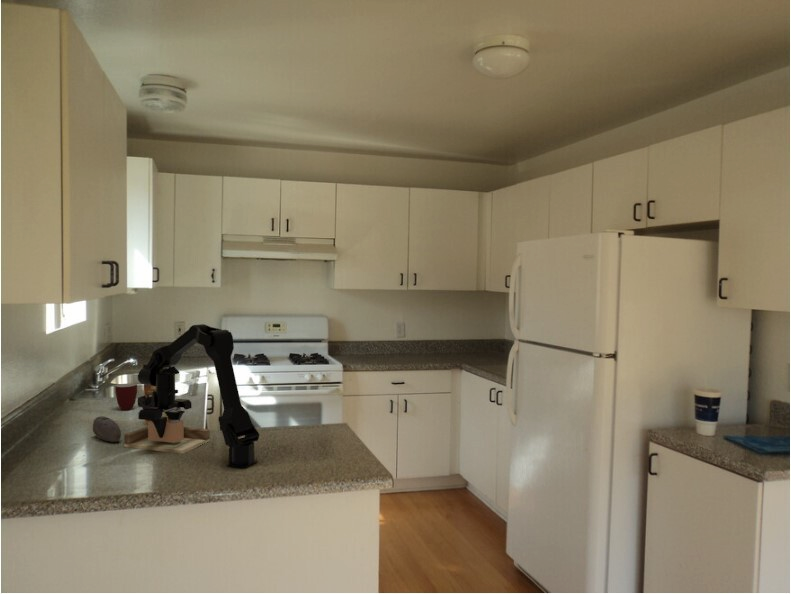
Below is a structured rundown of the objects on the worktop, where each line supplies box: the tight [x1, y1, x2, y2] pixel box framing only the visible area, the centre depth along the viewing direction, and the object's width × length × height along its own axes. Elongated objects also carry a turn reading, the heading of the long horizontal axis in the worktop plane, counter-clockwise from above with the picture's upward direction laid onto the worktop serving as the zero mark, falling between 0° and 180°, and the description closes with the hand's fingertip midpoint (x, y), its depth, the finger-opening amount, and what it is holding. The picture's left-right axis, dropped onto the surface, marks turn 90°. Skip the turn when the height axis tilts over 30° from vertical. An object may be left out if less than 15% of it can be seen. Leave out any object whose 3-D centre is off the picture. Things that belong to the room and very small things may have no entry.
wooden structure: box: [123, 426, 211, 454], centre depth 194 cm, size 22×14×4 cm, turn 72°
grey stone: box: [92, 416, 122, 443], centre depth 198 cm, size 15×5×7 cm, turn 48°
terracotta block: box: [147, 419, 185, 443], centre depth 191 cm, size 4×10×6 cm, turn 72°
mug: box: [114, 383, 138, 412], centre depth 243 cm, size 11×8×10 cm
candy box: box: [143, 384, 168, 425], centre depth 219 cm, size 9×4×15 cm, turn 60°
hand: (166, 435), depth 191 cm, fingers closed on terracotta block, 4 cm apart
